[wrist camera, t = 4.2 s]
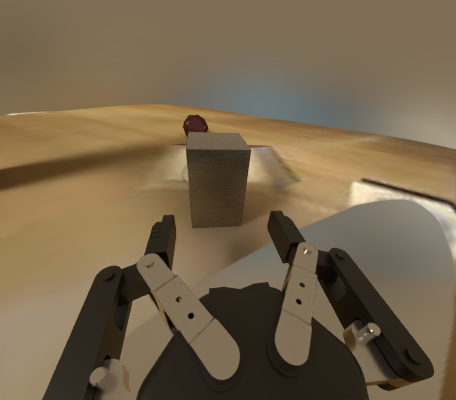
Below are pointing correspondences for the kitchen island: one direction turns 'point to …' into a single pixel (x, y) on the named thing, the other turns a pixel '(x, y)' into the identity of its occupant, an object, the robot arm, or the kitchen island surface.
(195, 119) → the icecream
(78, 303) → the kitchen island surface
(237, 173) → the grey block
